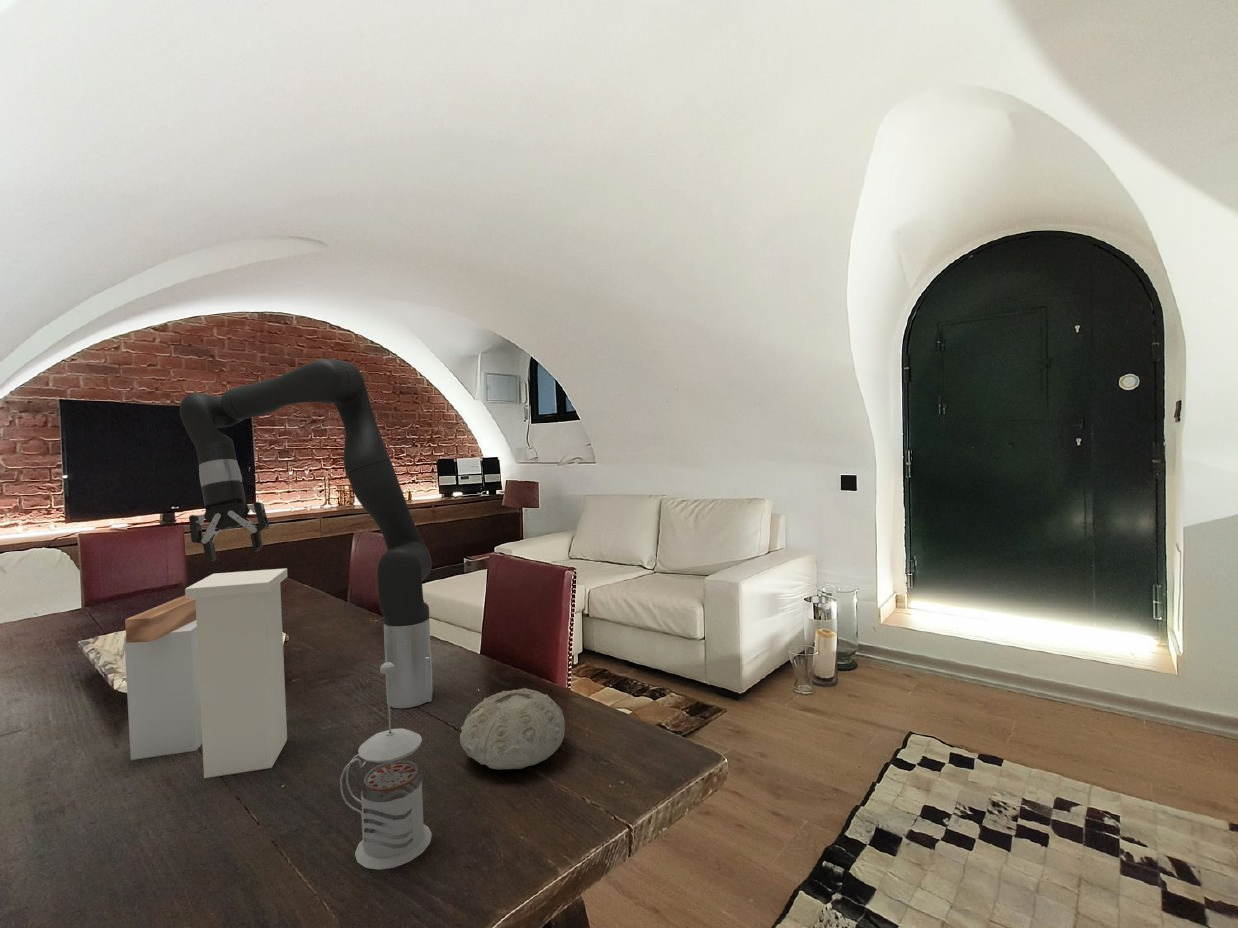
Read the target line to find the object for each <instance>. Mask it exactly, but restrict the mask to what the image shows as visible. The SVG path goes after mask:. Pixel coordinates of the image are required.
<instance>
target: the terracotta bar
mask: <svg viewBox="0 0 1238 928" xmlns="http://www.w3.org/2000/svg"><path fill="white" fill-rule="evenodd" d="M195 620H196V602H195V598H187V599H186V598H185V594H184V595H182V596H179V597H177V598H175V599H172V600H169V601H167V602H165V603H163V604H161V605H157V606H156V607H153V608H152V607H151V608H150V609H147V610H145V611H143V612H140V613H138V614H135V615H133V616H130V617H127V618H126V619H125V620H124V621H125V624H124V625H125V636H126V643H135V642H152V641H154V640H156V639H158V638H160V637H162V636H164V635H166V634H168V633H170V632H172V631H174V630H176V629H178V628H180V627H182V626H185V625H187V624H189V623H191V622H193V621H195Z"/></svg>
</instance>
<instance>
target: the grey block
mask: <svg viewBox="0 0 1238 928" xmlns="http://www.w3.org/2000/svg"><path fill="white" fill-rule="evenodd" d="M123 639H124V655H125V658H124V659H125V674H126V675H125V677H126V692H127V693H126V694H127V709H128V711H127V713H128V714H127V715H128V732H129V749H130V750H129V751H130V761H135V760H139V759H140V760H141V759H147V758H148V759H149V758H154V757H155V758H156V757H160V756H169V755H176V754H183V753H190V752H195V751H198V749H199V748H200V747H201V746H202V725H201V705H200V684H199V664H198V643H197V623H196V620H195V621H193V622H191V623H189V624H187V625H185V626H182V627H180V628H178V629H176V630H174V631H172V632H170V633H168V634H166V635H164V636H162V637H160V638H158V639H156V640H154V641H152V642H135V643H126V635H125V636H124V638H123Z"/></svg>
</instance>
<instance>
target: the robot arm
mask: <svg viewBox="0 0 1238 928" xmlns="http://www.w3.org/2000/svg"><path fill="white" fill-rule="evenodd" d="M299 403H300V404H302V403H324V404H334V406H335V407H336V409H337V411H338V413H339V414H338V415H339V416H340V418H341V421H342V425H343V429H344V447H343V448H344V449H343V466H344V470H345V473H346V476H347V479H348V482H349V484H350V487H351V490H352V492H353V494H354V496H355V498H356V499H357V501H358V502H359V504H360V506H362V508H364V511H366V512H367V514H368V516H370V517H371V518H372V519H373V521H374V522H375V523H376V525H377V526H378V528H379V530H380V532H381V534H382V537H383V540H384V542H385V545H386V550H387V551H386V552H385V553H384V554H383V555H381V557H380V559H379V561H378V563H377V569H376V576H377V577H376V578H377V579H376V580H377V595H378V596H377V597H378V606H379V609H380V612H381V614H382V618H383V636H384V637H383V638H384V639H383V640H384V644H383V645H384V663H386V662H391V663H392V664H394V666H395V671H394V672H392V673H389V694H390V708H393V709H394V708H395V709H408V708H414V707H418V706H421V705H423V704H426V703H431V702H432V701H433V666H432V663H433V661H432V649H431V628H430V627H431V626H430V625H431V624H430V621H431V620H430V606H429V604H427V602H425V601H424V600H425V599H424V592H423V581H425V580H426V579H427V578H428V576H429V575H430V573H431V570H432V566H433V565H432V563H433V562H432V561H433V559H432V557H431V554H430V551H429V549H428V547H427V546H426V544H425V541H424V540H423V538H422V536H421V533H420V532H419V530H418V528H417V525H416V523H415V522H414V519H413V518H412V514H411V513H410V512H411V511H410V510H409V506H408V504H407V503H408V502H407V500H406V498H405V495H404V492H403V489H402V487H401V485H400V482H399V479H398V475H397V473H396V471H395V467H394V465H393V462H392V461H391V458H390V455H389V452H388V451H387V448H386V446H385V443H384V440H383V438H382V435H381V432H380V429H379V427H378V424H377V421H376V419H375V415H374V412H373V409H372V406H371V405H372V404H371V401H370V397H369V393H368V389H367V386H366V383H365V379H364V376H363V374H362V372H361V371H360V369H359V368H358V367H357V366H356V365H354V364H353V363H351V362H349V361H346V360H339V359H330V358H320V359H317V360H316V359H315V360H314V361H311V362H309V363H307V364H305V365H303V366H300V367H297V368H295V369H293V370H291V371H289V372H287V373H285V374H284V373H283V374H281V375H279V376H276V377H274V378H270V379H266V380H262V381H257V382H252V383H248V384H244V385H240V386H236V387H233V388H230V389H227V390H226V391H225V392H224V393H223V394H222V396H217V395H212V394H211V395H210V394H205V393H200V392H198V393H197V392H193V393H189V394H187V395H186V396H184V397H183V398H182V400H181V402H180V405H179V416H180V420H181V423H182V424H183V426H184V428H185V430H186V432H187V434H188V436H189V438H190V440H191V442H192V443H193V445H194V447H195V451H196V456H197V457H196V458H197V462H198V470H199V472H198V473H199V481H200V482H199V483H200V486H201V492H202V497H203V499H202V500H203V503H204V505H203V506H204V508H205V510H204V511H205V512H204V513H203V514H197V515H195V514H191V515H189V517H188V521H189V529H190V530H189V531H190V541H191V543H194V544H201V545H202V547H203V552H204V557H205V558H206V559H207V560H208V561H209V562H214V561H217V559H218V558H217V554H216V553H217V552H216V548H215V543H214V540H215V538H216V537H217V536H218V535H219V533H220V532H221V530H223V531H225V530H229V529H231V528H240V527H241V526H242V527H244V528H245V529H246V530H247V531H249V532H251V533H250V540H251V545H252V550H253V552H260V551H261V548H263V540H262V536H261V533H262V531H265V530H266V529H268V528H269V527H270V524H269V521H268V520H269V519H268V517H267V512H266V509H265V506H264V503H263V502H259V501H255V502H254V503H252V504H248V503H247V501H246V500H247V499H246V495H245V490H244V484H243V475H242V473H241V469H240V466H239V464H238V459H237V455H236V454H237V453H236V450H235V445H234V440H233V439H232V438H231V437H230V436H228V435H226V434H224V433H221V432H220V431H219V430H218V428H219V429H221V428H228V427H232V426H234V425H236V424H237V425H238V423H240V422H242V421H244V420H245V419H247V420H248V419H251V418H252V419H253V418H257V417H261V416H265V415H267V414H271V413H274V412H275V411H279V410H280V409H281V408H283V407H286V406H289V405H295V404H299ZM250 511H251V512H252V513H253V514H255V515H256V519H257V522H258V525H256V524H254V522H253V521H251V519H249V518H247V517H248V515H249V512H250ZM204 521H207V522H208V523H209V525H208V527H207V528H206V530H205V534H204V536H203V529H202V525H203V524H204V523H205V522H204ZM385 689H386V690H385V691H386V692H385V696H386V705H387V706H388V686H387V674H385Z"/></svg>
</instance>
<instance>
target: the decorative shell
mask: <svg viewBox="0 0 1238 928" xmlns="http://www.w3.org/2000/svg"><path fill="white" fill-rule="evenodd" d="M565 727H566V726H565V716H564V713H563V710H562V708H560V706H559V705H558V703H556V701H554V700H553V698H552V697H550V696H549V695H548V694H547V693H546V694H544V693H542V692H540V691H537V690H535V689H529V688H527V687H524V688H519V689H512V690H503V691H500V692H497V693H496V694H493V695H490V696H488V697H484V698H483V700H482V701H480V702H479V703H478V704H477V705H476V706H475V707H473V708H472V710H470V712H469V713H468V714H467V715H466V718H465V719H464V722H463V725H462V726H461V727H460V730H461V732H460V735H459V742H460V746H461V747H462V749H463V751H464V752H465V754H466V755H467V756H469V757H470V758H472V759H473V760H474V761H476V762H478V763H479V764H480V765H481V766H483V765H485V766H487V767H488V768H490V769H492V770H512V769H513V770H520V769H525V768H526V767H531V766H535V765H537V764H539V763H541V762H543V761H546V760H547V759H549V757H551V756H553V754H554V753H555V752H556V751H557V750H558V749H559V747H560V746H561V745H562V743H563V740H564V738H565V731H566V729H565Z"/></svg>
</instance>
